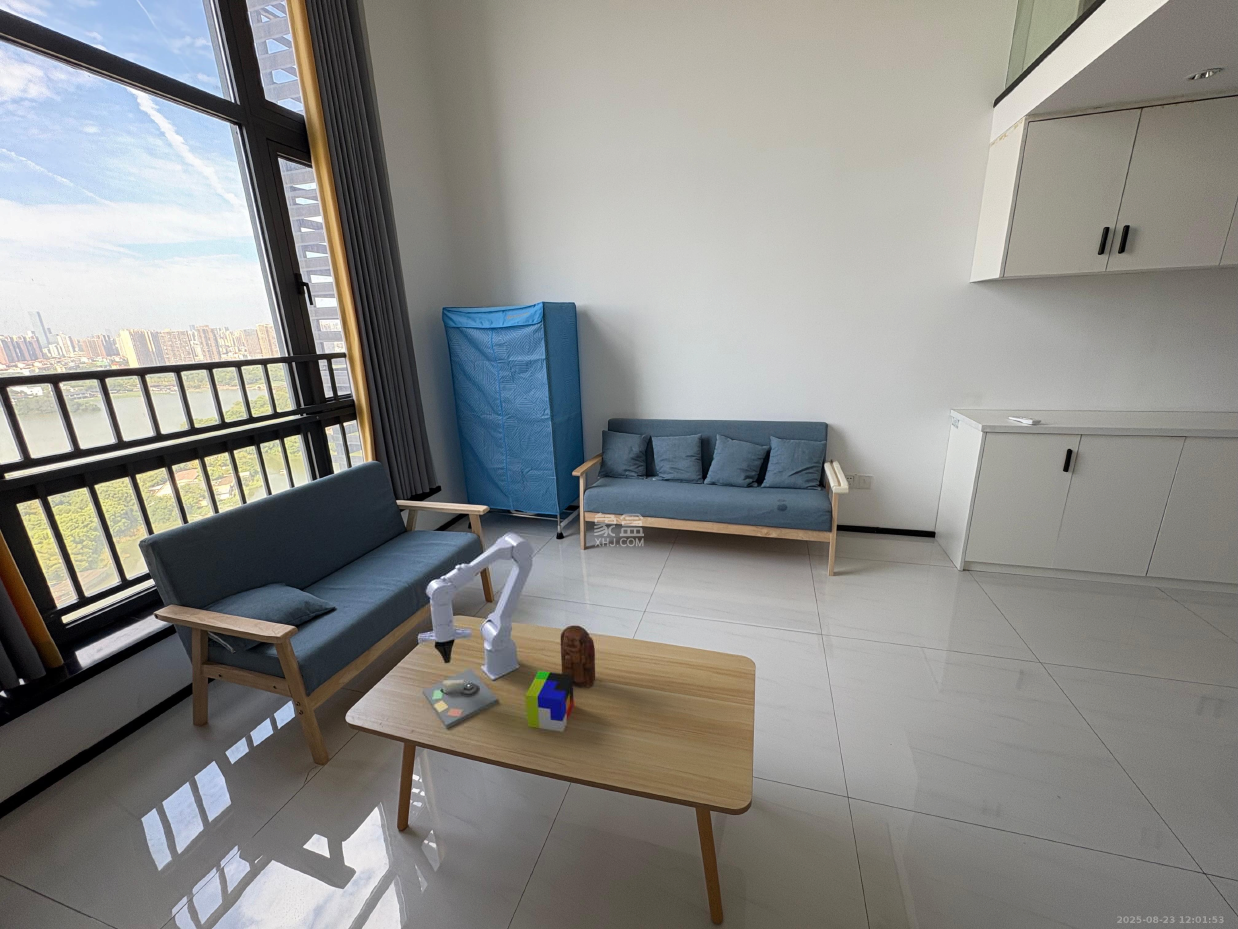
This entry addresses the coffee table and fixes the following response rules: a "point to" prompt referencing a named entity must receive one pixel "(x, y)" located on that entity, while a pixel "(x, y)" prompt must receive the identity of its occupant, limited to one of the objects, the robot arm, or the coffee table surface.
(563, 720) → the puzzle toy
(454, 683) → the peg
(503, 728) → the coffee table surface
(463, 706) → the tuner board
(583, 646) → the wooden figurine
